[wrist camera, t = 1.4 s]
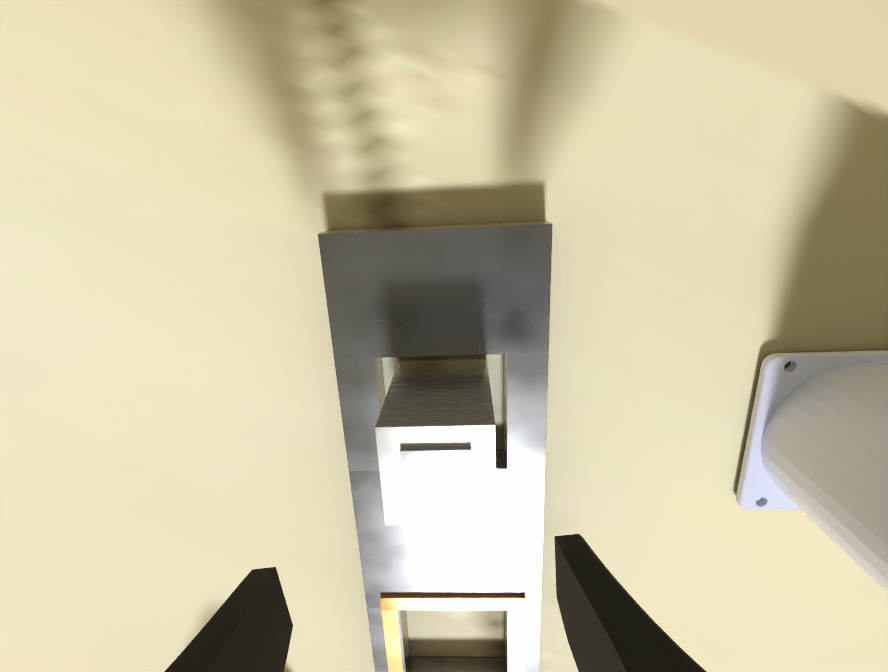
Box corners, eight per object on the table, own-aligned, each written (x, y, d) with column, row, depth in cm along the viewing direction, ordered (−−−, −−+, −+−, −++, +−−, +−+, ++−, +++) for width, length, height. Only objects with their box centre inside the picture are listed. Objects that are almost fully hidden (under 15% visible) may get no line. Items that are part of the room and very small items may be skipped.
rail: (545, 220, 18) (553, 224, 17) (532, 718, 28) (537, 751, 26) (328, 230, 19) (316, 234, 17) (388, 716, 28) (384, 748, 27)
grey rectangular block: (486, 358, 21) (495, 428, 15) (487, 435, 22) (496, 527, 16) (399, 360, 21) (373, 430, 15) (405, 437, 22) (384, 529, 16)
